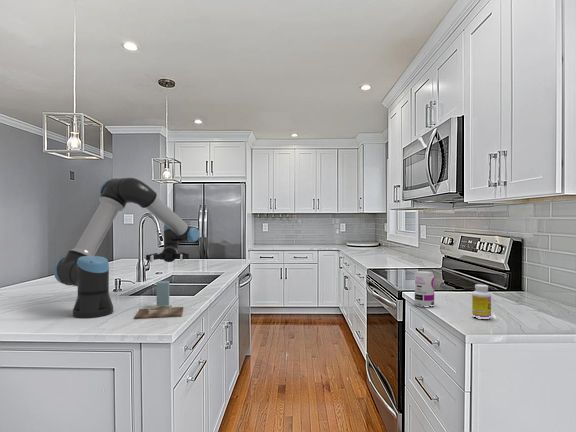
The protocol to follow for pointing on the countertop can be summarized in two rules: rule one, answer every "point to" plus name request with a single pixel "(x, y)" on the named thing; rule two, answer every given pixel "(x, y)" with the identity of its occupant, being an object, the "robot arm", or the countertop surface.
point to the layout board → (159, 312)
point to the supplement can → (424, 288)
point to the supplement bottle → (481, 301)
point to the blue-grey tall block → (162, 293)
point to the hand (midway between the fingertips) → (166, 258)
